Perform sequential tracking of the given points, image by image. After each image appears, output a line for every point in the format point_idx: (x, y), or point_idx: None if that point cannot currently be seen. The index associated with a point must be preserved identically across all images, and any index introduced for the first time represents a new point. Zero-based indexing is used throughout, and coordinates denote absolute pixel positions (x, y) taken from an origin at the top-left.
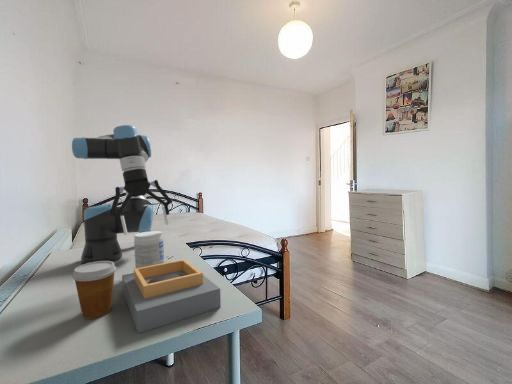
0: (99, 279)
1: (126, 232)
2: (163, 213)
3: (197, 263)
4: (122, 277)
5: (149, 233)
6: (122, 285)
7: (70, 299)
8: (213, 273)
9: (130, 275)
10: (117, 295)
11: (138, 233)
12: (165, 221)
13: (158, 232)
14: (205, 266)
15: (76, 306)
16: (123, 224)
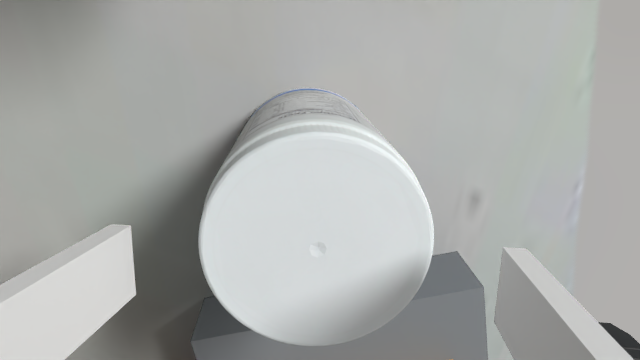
0: None
1: (126, 302)
2: (551, 337)
3: (559, 85)
4: (195, 351)
5: (325, 245)
6: (200, 315)
7: None
8: (565, 258)
9: (227, 356)
10: (191, 323)
11: (227, 192)
12: (505, 339)
13: (402, 235)
14: (575, 154)
15: (73, 355)
16: (62, 349)
